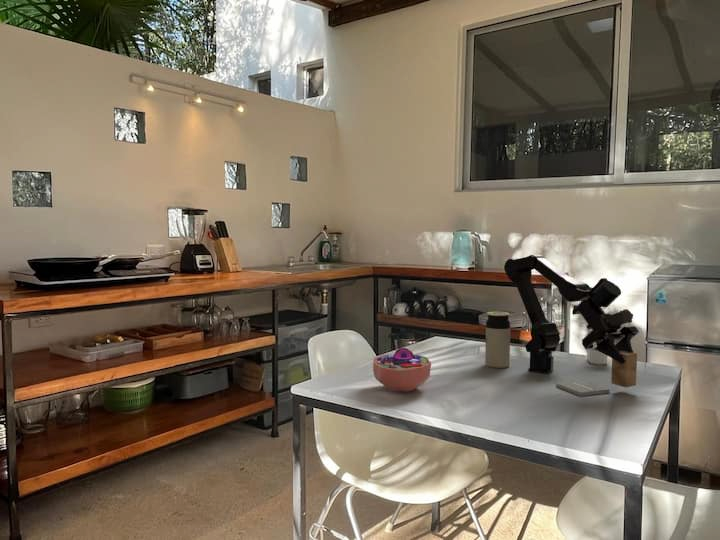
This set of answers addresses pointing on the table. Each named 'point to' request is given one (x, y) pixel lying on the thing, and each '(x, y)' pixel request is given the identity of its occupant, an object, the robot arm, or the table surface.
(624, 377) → the walnut block
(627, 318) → the robot arm
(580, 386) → the coaster
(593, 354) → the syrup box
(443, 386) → the table surface
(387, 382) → the cell model
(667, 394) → the table surface
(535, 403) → the table surface
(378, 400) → the table surface
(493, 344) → the travel mug
